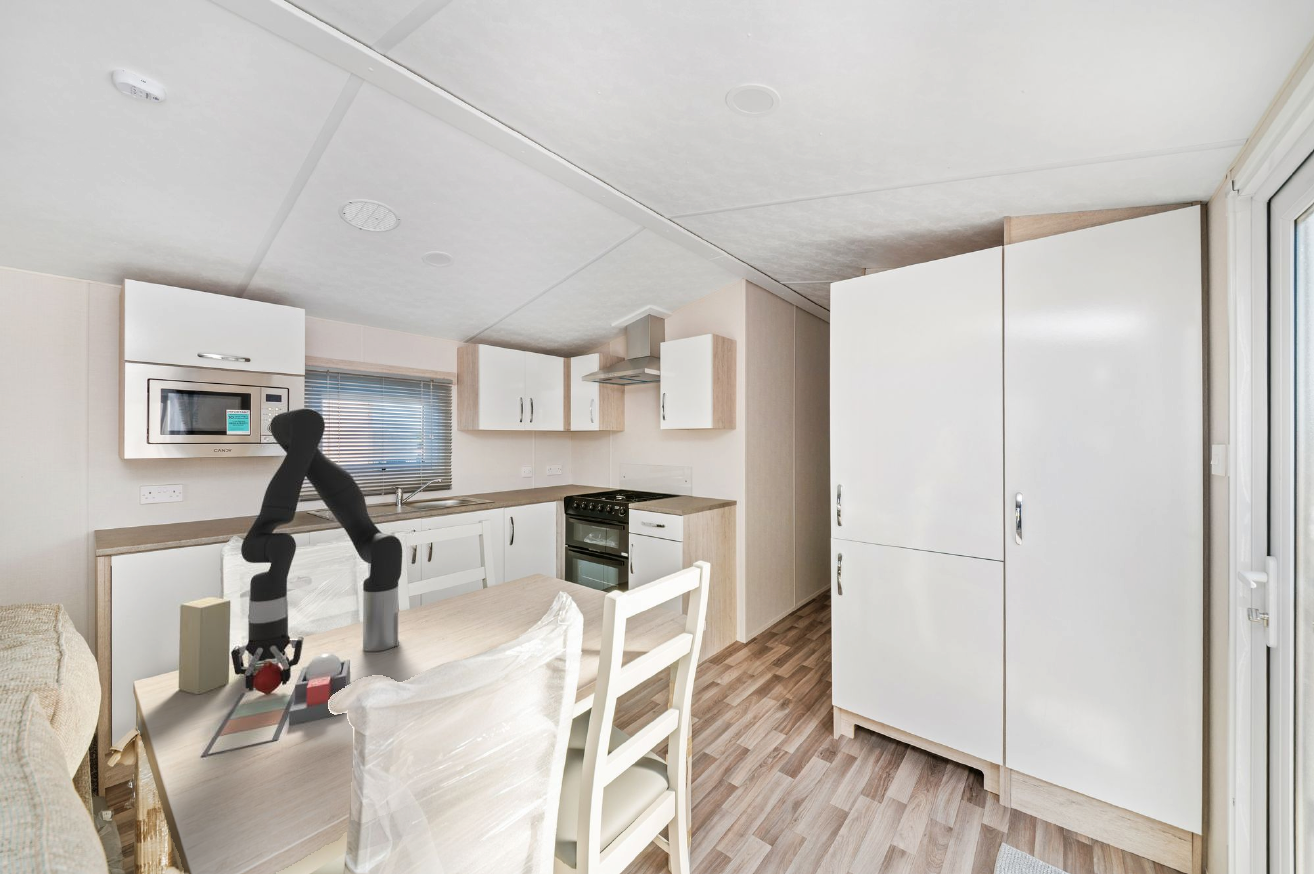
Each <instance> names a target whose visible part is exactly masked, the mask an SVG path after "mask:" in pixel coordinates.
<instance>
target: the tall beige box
mask: <svg viewBox="0 0 1314 874" xmlns="http://www.w3.org/2000/svg"><path fill="white" fill-rule="evenodd" d="M179 608H180V609H179V610H180V612H179V651H178V652H179V653H178V654H179V655H178V658H179V659H178V690H179V691H183V692H187V693H191V694H194V695H202V694H204V693H206V692H209V691H211V690H214V689H217V688H219V687H222V686H224V685H227V684H228V683H229V681H230V647H231V646H230V644H231V640H230V639H231V638H230V636H231V633H230V632H231V600H230V599H227V598H226V599H225V598H220V597H215V596H214V597H213V596H208V597H204V598H201V599H200V598H199V599H197V600H191V601H187V602H184V603H181V604H180V607H179Z"/></svg>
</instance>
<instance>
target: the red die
mask: <svg viewBox="0 0 1314 874" xmlns="http://www.w3.org/2000/svg"><path fill="white" fill-rule="evenodd" d="M330 694H331V676H328V677H323V678H317V679H312V680H310V681H309V683H308V686H307V706H309V705H314V704H319V703H324V702H328V700H329V698H330Z"/></svg>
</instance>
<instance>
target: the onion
mask: <svg viewBox="0 0 1314 874" xmlns="http://www.w3.org/2000/svg"><path fill="white" fill-rule="evenodd" d="M264 664H265V665H264V666H263V667H261V668H260V669H257V671H256V672H255V676H254V678H253V686H254V689H255V691H259V692H262V693H264V694H266V695H268V694H270V693H272V692H273V691H274V690H275V689H276V688H277V687H280V686H281V685H282V670H283V668H282V666H280V665H278V663H277V664H274V663H272V662H270V661H266V662H265V663H264Z"/></svg>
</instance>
